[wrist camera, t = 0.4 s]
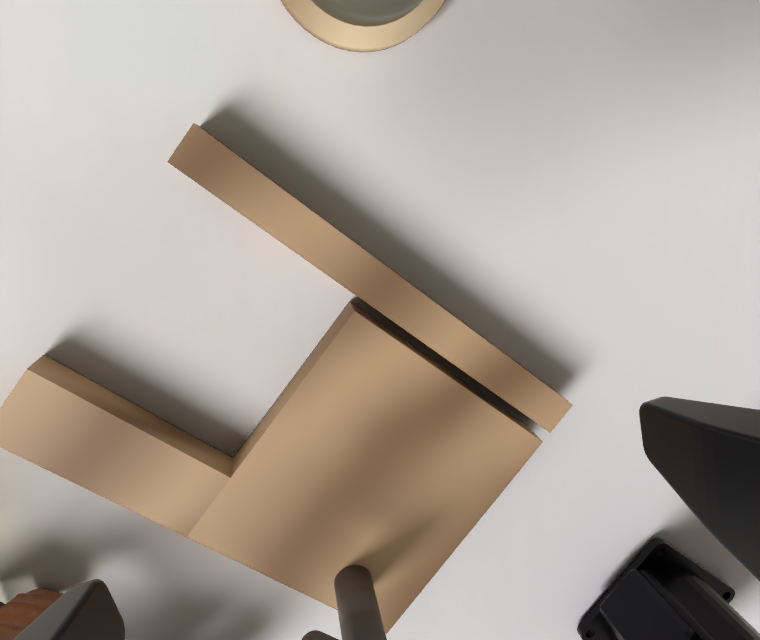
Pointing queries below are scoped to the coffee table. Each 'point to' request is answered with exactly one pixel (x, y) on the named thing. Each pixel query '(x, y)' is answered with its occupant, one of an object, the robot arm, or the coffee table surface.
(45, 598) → the winged dragon figurine
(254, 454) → the wooden plank structure
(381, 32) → the cord spool
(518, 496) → the coffee table surface
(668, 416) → the robot arm
